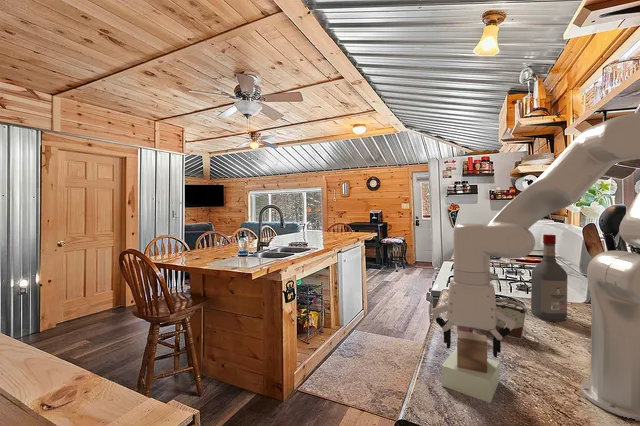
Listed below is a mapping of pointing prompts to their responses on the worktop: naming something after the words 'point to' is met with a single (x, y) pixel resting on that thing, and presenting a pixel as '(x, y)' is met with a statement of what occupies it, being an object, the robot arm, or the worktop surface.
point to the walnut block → (472, 351)
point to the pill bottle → (464, 329)
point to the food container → (512, 316)
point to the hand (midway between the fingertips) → (471, 350)
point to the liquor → (549, 285)
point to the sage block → (471, 378)
